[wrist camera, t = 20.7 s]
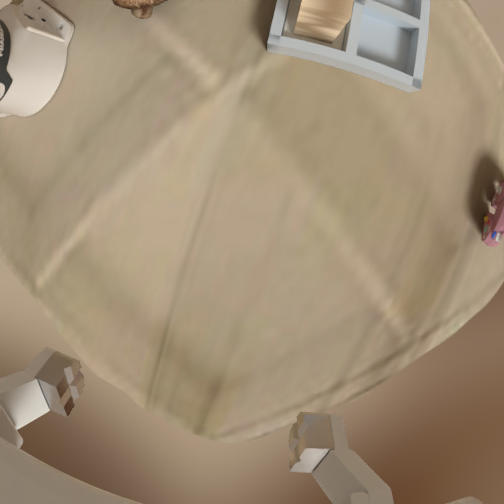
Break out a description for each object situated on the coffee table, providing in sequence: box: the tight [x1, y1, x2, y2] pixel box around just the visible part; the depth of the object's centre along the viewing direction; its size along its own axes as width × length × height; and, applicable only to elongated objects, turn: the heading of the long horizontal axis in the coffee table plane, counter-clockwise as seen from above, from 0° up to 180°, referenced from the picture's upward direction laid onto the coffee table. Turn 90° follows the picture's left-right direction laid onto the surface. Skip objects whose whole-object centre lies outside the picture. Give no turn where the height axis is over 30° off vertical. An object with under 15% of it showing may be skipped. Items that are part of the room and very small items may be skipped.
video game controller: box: [482, 180, 504, 247], centre depth 32 cm, size 10×5×7 cm, turn 164°
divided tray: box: [267, 0, 430, 93], centre depth 25 cm, size 18×18×4 cm
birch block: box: [293, 0, 354, 44], centre depth 22 cm, size 4×4×9 cm
